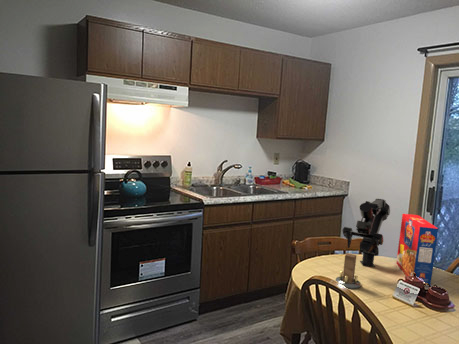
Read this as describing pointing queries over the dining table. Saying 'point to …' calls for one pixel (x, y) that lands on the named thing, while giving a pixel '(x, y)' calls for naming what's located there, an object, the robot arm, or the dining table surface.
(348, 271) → the walnut block
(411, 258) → the pasta box
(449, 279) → the dining table surface
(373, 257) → the robot arm
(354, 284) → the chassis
